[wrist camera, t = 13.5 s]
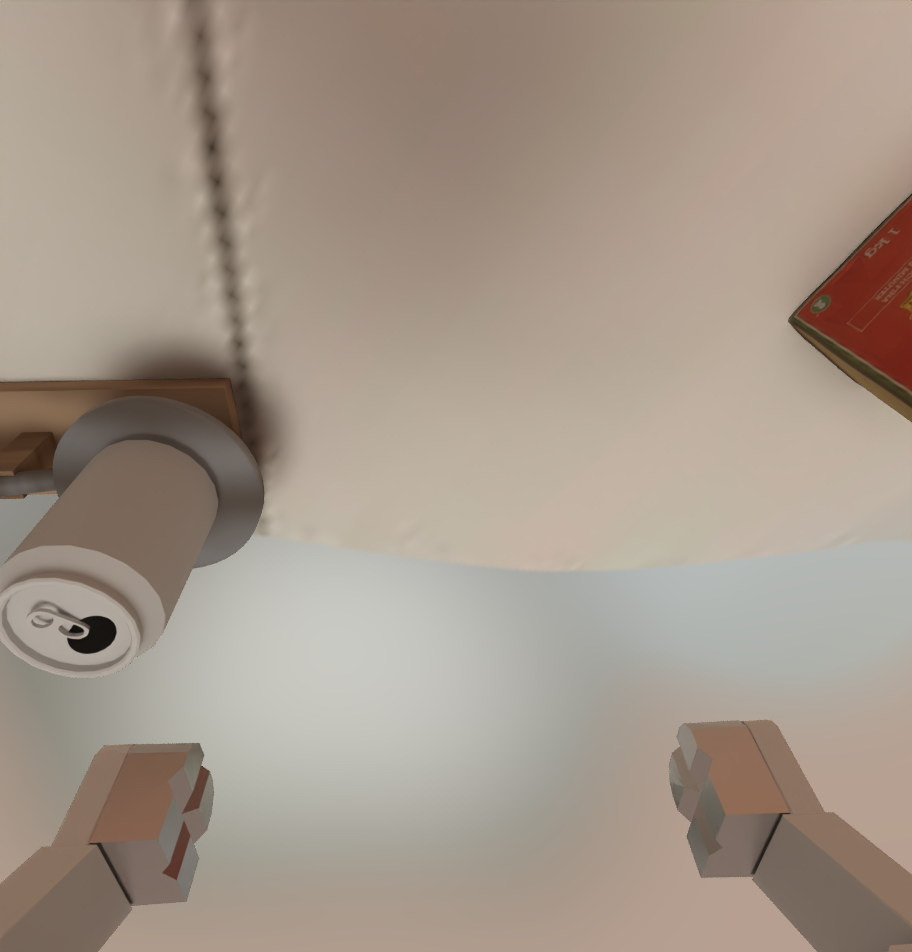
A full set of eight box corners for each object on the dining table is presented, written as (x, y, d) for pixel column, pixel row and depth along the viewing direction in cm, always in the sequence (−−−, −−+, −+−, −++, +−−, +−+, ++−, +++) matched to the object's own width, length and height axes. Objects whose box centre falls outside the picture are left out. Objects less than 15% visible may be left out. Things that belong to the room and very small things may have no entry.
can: (177, 555, 42) (98, 712, 32) (67, 487, 39) (-59, 638, 28) (247, 485, 39) (185, 632, 29) (135, 407, 36) (22, 541, 26)
